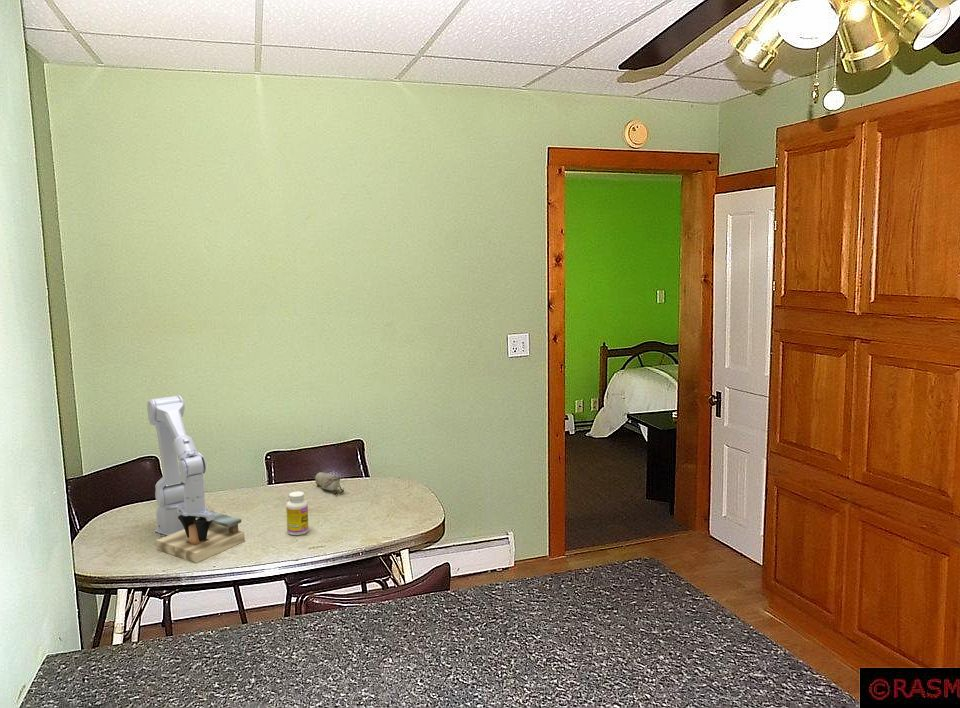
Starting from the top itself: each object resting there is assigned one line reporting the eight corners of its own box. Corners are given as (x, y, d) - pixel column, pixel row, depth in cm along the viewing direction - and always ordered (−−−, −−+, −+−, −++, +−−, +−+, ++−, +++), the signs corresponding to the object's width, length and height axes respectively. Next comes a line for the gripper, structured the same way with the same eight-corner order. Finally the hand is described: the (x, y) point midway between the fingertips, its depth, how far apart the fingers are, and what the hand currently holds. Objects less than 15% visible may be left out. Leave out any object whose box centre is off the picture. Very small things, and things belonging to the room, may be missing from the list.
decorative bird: (323, 484, 284) (322, 465, 283) (347, 494, 273) (346, 475, 272) (311, 487, 280) (310, 468, 279) (334, 498, 269) (333, 478, 268)
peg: (187, 551, 223) (185, 526, 222) (198, 546, 227) (197, 522, 225) (195, 554, 221) (193, 529, 220) (206, 550, 225) (205, 525, 223)
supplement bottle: (303, 536, 234) (301, 498, 232) (283, 535, 235) (282, 496, 233) (312, 528, 241) (310, 491, 239) (293, 527, 242) (291, 489, 240)
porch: (157, 549, 225) (155, 527, 223) (206, 529, 240) (204, 509, 239) (196, 562, 215) (194, 540, 214) (244, 541, 231) (243, 519, 230)
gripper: (166, 495, 222) (169, 537, 224) (199, 504, 214) (201, 548, 216) (186, 488, 228) (189, 530, 230) (218, 496, 220) (221, 539, 222)
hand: (196, 538), depth 224 cm, fingers open, 5 cm apart
